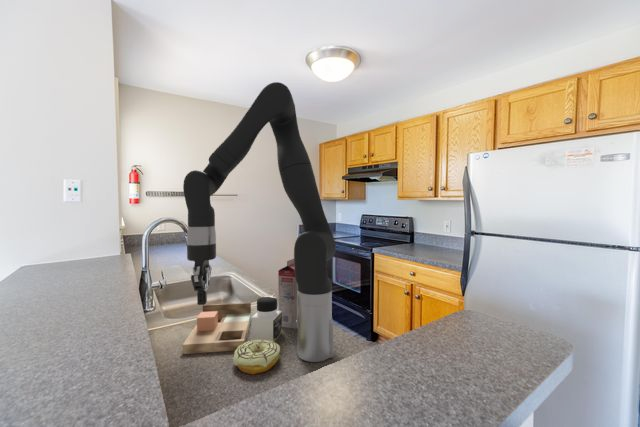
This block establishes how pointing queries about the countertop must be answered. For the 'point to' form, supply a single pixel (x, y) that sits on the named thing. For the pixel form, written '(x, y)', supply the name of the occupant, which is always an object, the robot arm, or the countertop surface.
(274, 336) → the medicine bottle
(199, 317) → the block
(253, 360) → the decorated donut
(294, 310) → the juice carton
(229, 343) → the board
